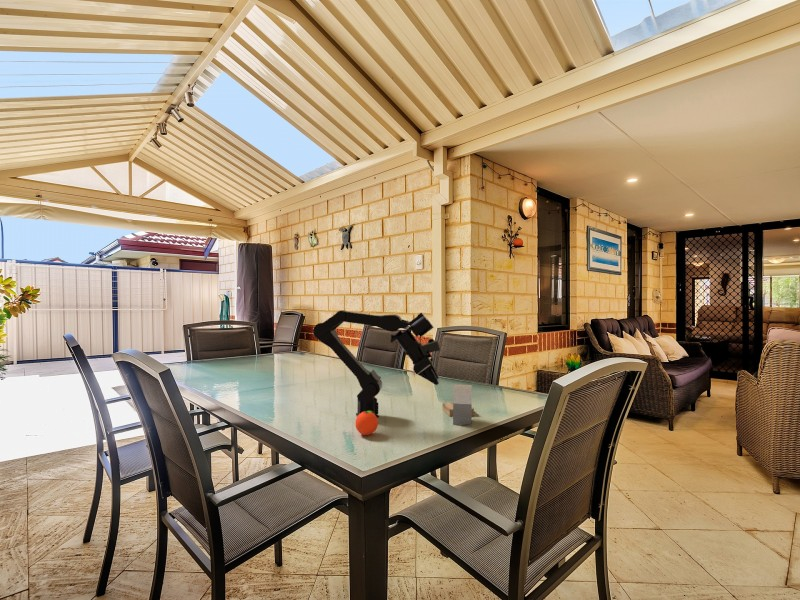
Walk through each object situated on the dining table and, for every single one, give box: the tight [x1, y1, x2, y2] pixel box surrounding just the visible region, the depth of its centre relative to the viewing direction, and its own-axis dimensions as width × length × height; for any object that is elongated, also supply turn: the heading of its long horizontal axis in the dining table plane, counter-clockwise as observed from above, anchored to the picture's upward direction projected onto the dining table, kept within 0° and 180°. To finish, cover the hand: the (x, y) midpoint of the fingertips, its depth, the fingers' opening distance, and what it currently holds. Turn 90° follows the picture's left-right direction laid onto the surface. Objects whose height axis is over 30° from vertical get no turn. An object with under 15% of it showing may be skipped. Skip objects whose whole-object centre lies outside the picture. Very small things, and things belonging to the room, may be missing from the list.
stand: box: [442, 402, 475, 418], centre depth 143 cm, size 9×9×2 cm
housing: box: [452, 384, 473, 427], centre depth 131 cm, size 6×6×12 cm
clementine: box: [354, 411, 379, 436], centre depth 120 cm, size 8×7×7 cm
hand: (437, 381), depth 135 cm, fingers open, 9 cm apart
